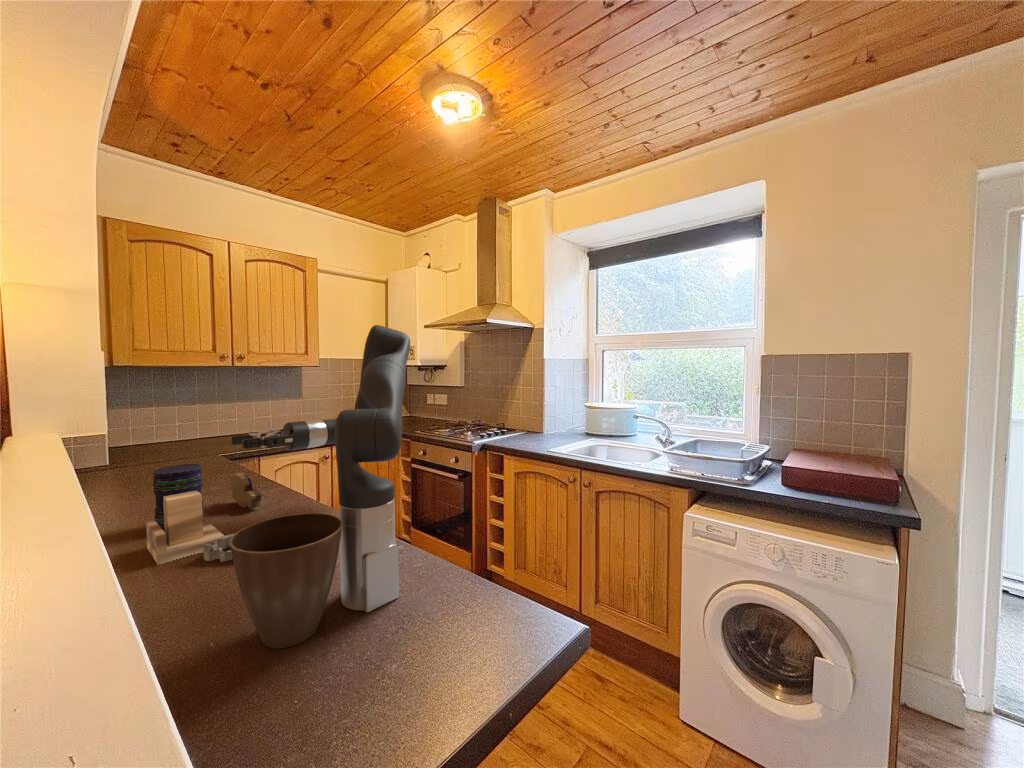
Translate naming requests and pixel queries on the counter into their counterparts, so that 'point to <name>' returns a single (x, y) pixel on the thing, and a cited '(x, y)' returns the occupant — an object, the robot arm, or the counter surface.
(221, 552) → the egg carton
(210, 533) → the birch board
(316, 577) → the plant pot
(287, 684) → the counter surface
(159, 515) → the storage jar
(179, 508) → the oak plank block
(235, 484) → the wooden carving
